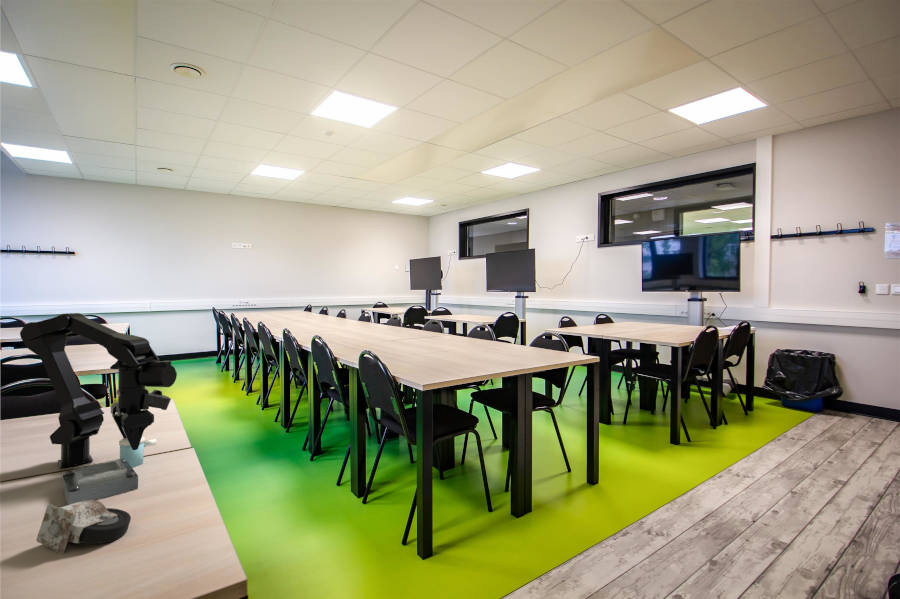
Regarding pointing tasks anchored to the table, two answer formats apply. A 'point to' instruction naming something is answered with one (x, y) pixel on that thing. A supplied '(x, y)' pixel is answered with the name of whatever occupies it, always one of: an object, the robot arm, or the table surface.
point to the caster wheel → (81, 524)
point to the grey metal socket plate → (98, 481)
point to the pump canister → (134, 451)
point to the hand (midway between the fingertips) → (131, 445)
